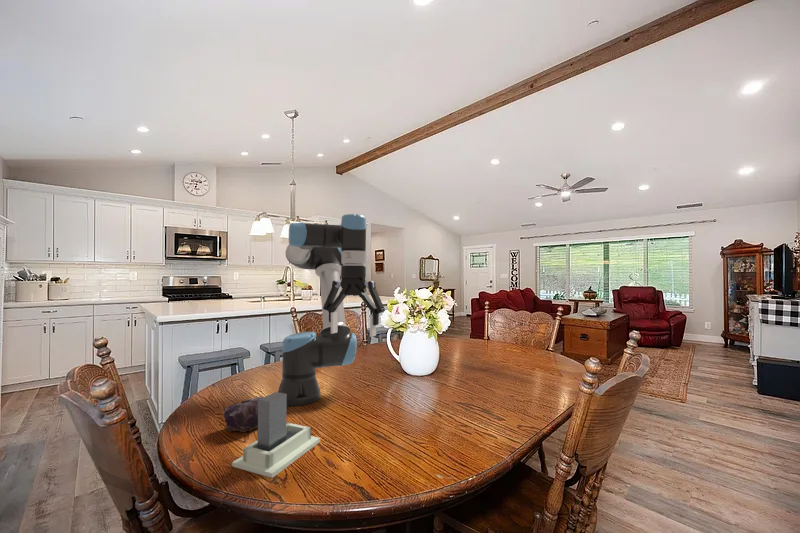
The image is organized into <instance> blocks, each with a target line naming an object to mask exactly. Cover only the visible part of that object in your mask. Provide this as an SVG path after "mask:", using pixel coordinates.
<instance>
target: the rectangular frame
mask: <svg viewBox="0 0 800 533" xmlns="http://www.w3.org/2000/svg"><path fill="white" fill-rule="evenodd" d="M311 429H312V427H310V426H305V425H302V424H301V425H300V424H295V423H292V422H286V432H287V431H291V432H296V433H297V434H295V435H294V436H292V437H291V438H289V439H288V440H286V441H285V442H283V443H282V444H280V445H279V446H277V447H276V448H274V449H273V450H271V451H269V452H268V451H265V450H261V449H258V439H257V440H256V441H253V442H252V443H250V444H248V445H247V446H245V447H243V449H242V450H243V451H242V452H243V454H242V456H240V457H239V458H237V459H236V460H233V461H232V463H231V467H234V468H235V469H239V470H240V469H241V470H242V471H243V470H244V471H247V472H250V473H253V474H258V475H260V476H264V477H266V478H271V479H273V478H274V477H276V476H277V475H279V473H281V472H282V471H284V470H285V469H287V467H289V466H290V465H291V464H293V463H294V462H296V461H297V460H298V459H299V458H301V457H302V456H303V455H304V454H306V453H307V452H309V450H311V449H313V448H314V447H315V446H317V444H319V443H320V442H321V437H317V436H314V435H312V430H311Z"/></svg>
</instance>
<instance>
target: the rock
mask: <svg viewBox="0 0 800 533" xmlns="http://www.w3.org/2000/svg"><path fill="white" fill-rule="evenodd" d="M261 398H264V397H263V395H261V396H260V395H259V396H258V397H253V398H250V399H249V398H247V399H245V400H242V401H239V402H238V403H234V404H231V405H230V406H227V407H225V408H224V412H223V418H224V420H225V427H226V430H227V431H228V432H241V433H246V432H252V431H253V430H255V429H258V400H259V399H261Z"/></svg>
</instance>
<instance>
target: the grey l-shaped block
mask: <svg viewBox="0 0 800 533" xmlns="http://www.w3.org/2000/svg"><path fill="white" fill-rule="evenodd" d="M286 423H287V394H284V393H278V391H274V392H272V393H270V394H268V395H267V396H264V397H263V398H261V399H259V400H258V427H257V440H258V449H261V450H265V451H268V452H269V451H271V450H273V449H274V448H276V447H277V446H279V445H280V444H282V443H283V442H285V441H286V440H288V439H289V438H291V437H292V436H294V435H295V434H297V433H296V432H291V431H287V432H286Z"/></svg>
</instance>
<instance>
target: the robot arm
mask: <svg viewBox="0 0 800 533" xmlns="http://www.w3.org/2000/svg"><path fill="white" fill-rule="evenodd" d="M366 219H367V218H366V217H365V215H364V214H358V213H355V214H354V213H350V214H349V213H347V214H344V215H342V216H341V222H340V224H327V223H326V224H325V223H309V222H291V223H290V224H289V226H288V245H287V246H286V249H285V257H286V260H287V261H288V262H289V263H290V264H291V265H293V266H294V267H295V268H299V269H302V270H312V271H313V270H314V271H315V272H314V273H315V275H316V276H318V277H319V287H320V289H319V290H320V299H321V311H322V323H323V324H322V325H323V327H322V329H321V330H320V332H319V335H317V333H316V332H315V331H312V330H311V331H301V332H296V333H293V334H289V335H288V336H286V337H284V339H283V340H282V349H281V352H282V367H281V368H282V372H281V373H282V374H281V381H280V384H279V386H278V390H277V392H278V393H284V394H287V405H286V407H287V406H288V407H289V406H291V407H294V406H298V407H299V406H304V405H309V404H312V403H315V402H316V401H318V400H319V399H321V389H320V387H319V382H318V379H317V377H316V376H317V372H316V369H317V368H318V369H319V368H329V367H342V366H347V365H352V363H353V362H354V361H355V358H356V354H357V348H358V347H357V344H358V342H357V335H356V333H354V332H352V331H351V327H350V326H348V325H347V324H346V316H345V315H346V314H345V307H344V300H345V298H346V297H347V296H354V297H356V296H358V297H359V298H360V299H361V300H362V301H363V303H364V304H365V305H366V307H367V308H368V309H369V311H370V312H371V314H370V315H369V337H370V338H373V337H376V336H377V326H378V325H379V323H380V318H379V316H380V314H381V313H384V312H385V311H386V309H385V306H384V304H383V302H382V300H381V298H380V295H379V293H378V291H377V287H376V282H375V281H374V280H369V281H366V276H367V274H366V272H367V270H366V269H367V268H366V264H367V256H366V255H367V252H366V250H367V248H366V247H367V227H368V226H367V221H366ZM365 288H367V289H368V292H369V294H370V296H369V295H368V292H367V291H366V290H365ZM370 297H371V298H372V299H371V298H370Z"/></svg>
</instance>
